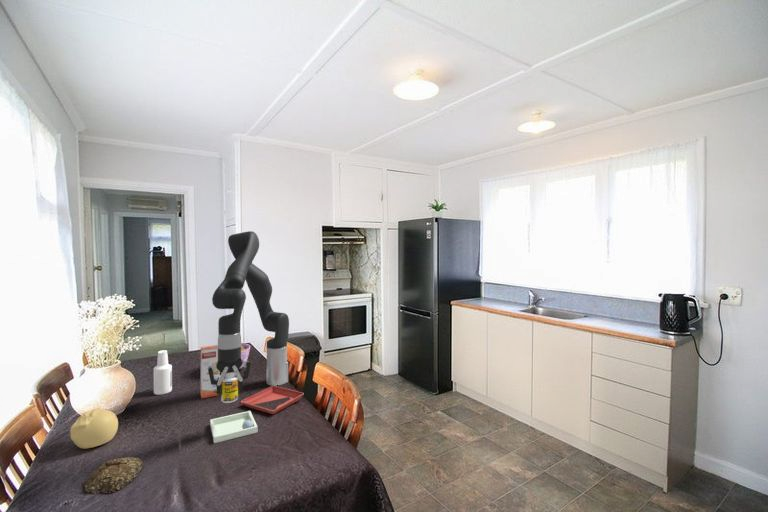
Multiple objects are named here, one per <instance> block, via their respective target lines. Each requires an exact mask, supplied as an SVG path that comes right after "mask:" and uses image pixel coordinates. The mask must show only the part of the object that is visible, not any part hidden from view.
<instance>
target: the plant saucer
mask: <svg viewBox="0 0 768 512" xmlns="http://www.w3.org/2000/svg"><path fill="white" fill-rule="evenodd" d="M303 396H304V392H300V391H297V390H293V389H290V388H285V387H280V386H271V385H270V386H269V387H267V388H264V389H262V390H261V391H259V392H257V393H255V394H252V395H250V396H249V397H245V398H244V399H242V400H241V401H240V402H241V404H242V405H244V406H245V407H247V408H250V409H253V410H257V411H260V412H262V413H265V414H270V415H275V414H277V413H278V412H280V411H283V410H284V409H285V408H288V407H289V406H290V405H293V404H296V403H298V401H300V400H301V399H302V397H303ZM284 398H285V399H286V398H289V400H287V401H285V402H283V403H281V404H279V405H277V407H276V408H275V409H269V408H266V407H264V406H263V407H262V406H259V405H257V404H263V403H267V402H272V401H276V400H281V399H284ZM295 402H296V403H295Z"/></svg>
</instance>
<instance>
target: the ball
mask: <svg viewBox="0 0 768 512" xmlns="http://www.w3.org/2000/svg"><path fill="white" fill-rule="evenodd" d="M250 427H253V423H252V421H250V420H246V421H245V422H244V423H243V425H242V428H243V429H246V428H250Z"/></svg>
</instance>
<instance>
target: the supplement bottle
mask: <svg viewBox="0 0 768 512" xmlns="http://www.w3.org/2000/svg"><path fill="white" fill-rule="evenodd" d="M238 399H239V392H238V377H237V376H236V374H235V372H229V373H226V374H225V376H224V379H223V380H222V382H221V396H220V401H221V402H222V403H224V404H229V403H233V402H236V401H237V400H238Z"/></svg>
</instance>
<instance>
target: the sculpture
mask: <svg viewBox="0 0 768 512" xmlns="http://www.w3.org/2000/svg"><path fill="white" fill-rule="evenodd" d="M118 428H119V419H118V417H117V415H116V414H115V413H114V412H113V411H111V410H107V409H101V408H100V407H98V408H94V409H92V410H89V411H84V413H82V415H80V416H79V417H78V418H77V419H76V420H75V422H74V423H73V424H72V425H71V427H70V429H69V433H70V439H71V441H73V444H74V445H75V446H77V447H78V448H80V449H83V450H84V449H85V450H86V449H91V448H95V447H98V446H99V447H100V446H102V445H104V444H107V443H108V442H110V441H111V440H113V438H114V437H115V435H116V434H117V432H118Z"/></svg>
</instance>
